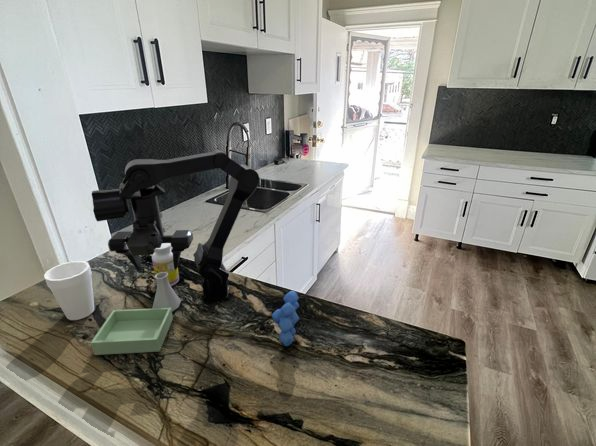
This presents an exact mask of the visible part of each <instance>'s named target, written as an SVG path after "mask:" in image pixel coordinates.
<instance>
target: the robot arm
mask: <svg viewBox="0 0 596 446" xmlns="http://www.w3.org/2000/svg"><path fill="white" fill-rule="evenodd" d="M216 169H219V170H221V171H222V172H224V173H225V174H227V175H228V176H229V177H230V178H229V182H228V194H227V196H226V198H225V201H224V203H223V205H222V207H221V210H220V212H219V215H218V217H217V219H216V222H215V223H214V225H213V228H212V231H211V233H210V235H209V238H208V239H207V241H205V243H198V244H197V247H196V250H195V252H194V253H193V254H192V255H193V257H194V258H193V261H194V264H195V266H196V269H197V271H198V273H199V275H200V276H201V277H202V278H203V279H202V282H201V285H202V293H203V294H202V295H204V298H203V300H204V301H215V300H227V299H228V298H229V294H230V284H229V277H230V273H229V272H228V270H227V268H226V266H225V265H224V263H223V257H224V249H225V248H224V247H225V245H226V243H227V241H228V238H229V236H230V234H231V232H232V230H233V228H234V225H235V223H236V221H237V218H238V216H239V214H240V212H241V209H242V208H243V206H244V203H245V202H246V201H247V200H248V199H249V198H250V197H251V196H252V195H253V194H254V192H255V191H256V189H257V188H258V186H259V184H260V182H261V181H260V180H261V179H260V175H259V173H258V172H257V171H256V169H255V170H254V169H253V168H251V167H250V166H248V165H247V164H245V163H244V164H243V163H242V164H239V163H238V162H236V161H235V160H234V159H231V158H230V157H229V156H228V154H226V153H225V152H223V151H222V150H219V149H215V150H213V151H209V152H203V153H197V154H191V155H187V156H180V157H175V158H169V159H154V158H137V159H132V160H130V161H129V162H128V163H127V164H126V165H125V169H124V178H123V180H122V181H121V182H120V184H119V188H114V189H106V190H100V189H97V190H92V191H91V198H92V206H93V209H92V212H93V215H94V218H95V220H96V222H104V221H110V220H117V219H124V218H126V216H128V214H127V213H130V211H131V210H130V206H129V201H128V200H130V205H131V209H132V213H133V214H132V215H133V218H134V219H133V221H132V231H131V230H130V231H117V232H116V233H115V234H114V235H113V236H112V237H110V238H109V240H108V242H107V246H108V250H109V251H110V252H115V253H116V254H119V255H123V256H125V257H126V258H127V259H128V260H129V261H130V263H131V264H132V266H133V267H134V268H135V269H136V271H138V272H140V271H141V270H142V262H141V257H140V256H151V255H153V254H154V250H155V248H160V247H161V244H162V243H170V245H171V252H172V253H173V264H174V269H175V270H176V269H177V267H178V266H179V263H180V258H181V254H182V252H184V251H185V250H188V249H189V248H190V246H191V244H192V242H193V240H194V234H193V232H192V230H190V229H176V230H174V233H173V234H170V235H169V234H167V235H165V232H166V229H165V227H163V222H162V218H163V213H162V212H161V210H160V205H159V200H158V196H164V195H166V191H165V189H164V188H163V187H161V186H159V185H160V184H162V183H163V182H165V181H167V180H169V179H172V178H176V177H183V176H187V175H191V174H196V173H202V172H207V171H213V170H216Z"/></svg>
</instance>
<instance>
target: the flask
mask: <svg viewBox="0 0 596 446" xmlns="http://www.w3.org/2000/svg"><path fill="white" fill-rule="evenodd" d="M167 276H168V273H166V272H160V273H158V274H156V275H155V274H154V279H155V282H156V281H157V283H156V291H155V296H154V299H153V304H152V306H151V307H152V308H171V310H172V312H174V311H175V310H177V309H178V308H180V305H181V302H182V299H181V298H180V297H179V296H178V294H177V293H176V292H175V290H174V289H173V287H172V286H170V284H169V281H168V278H167ZM152 308H151V309H152Z"/></svg>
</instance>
